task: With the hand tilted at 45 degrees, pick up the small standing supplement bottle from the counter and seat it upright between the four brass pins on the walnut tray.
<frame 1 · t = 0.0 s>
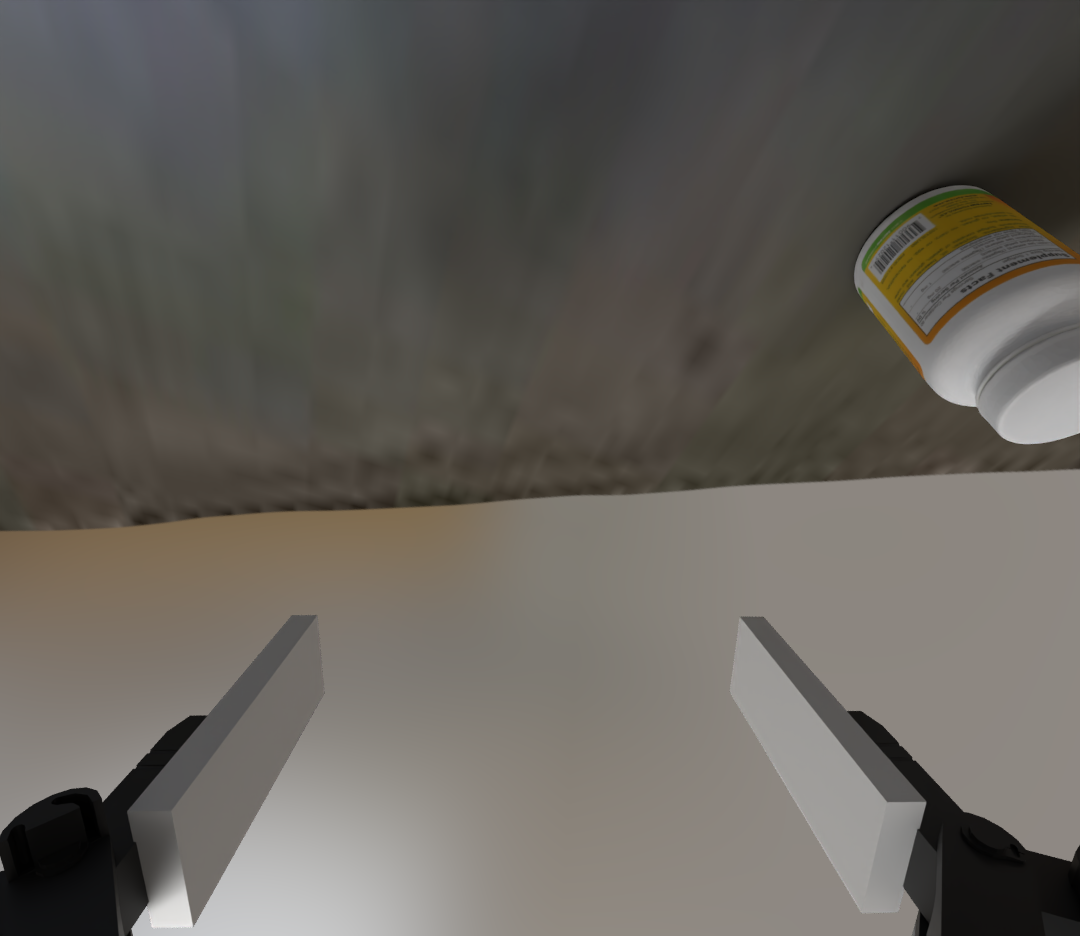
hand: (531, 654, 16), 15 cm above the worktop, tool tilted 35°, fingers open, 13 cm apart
supplement bottle: (916, 246, 22), on the worktop
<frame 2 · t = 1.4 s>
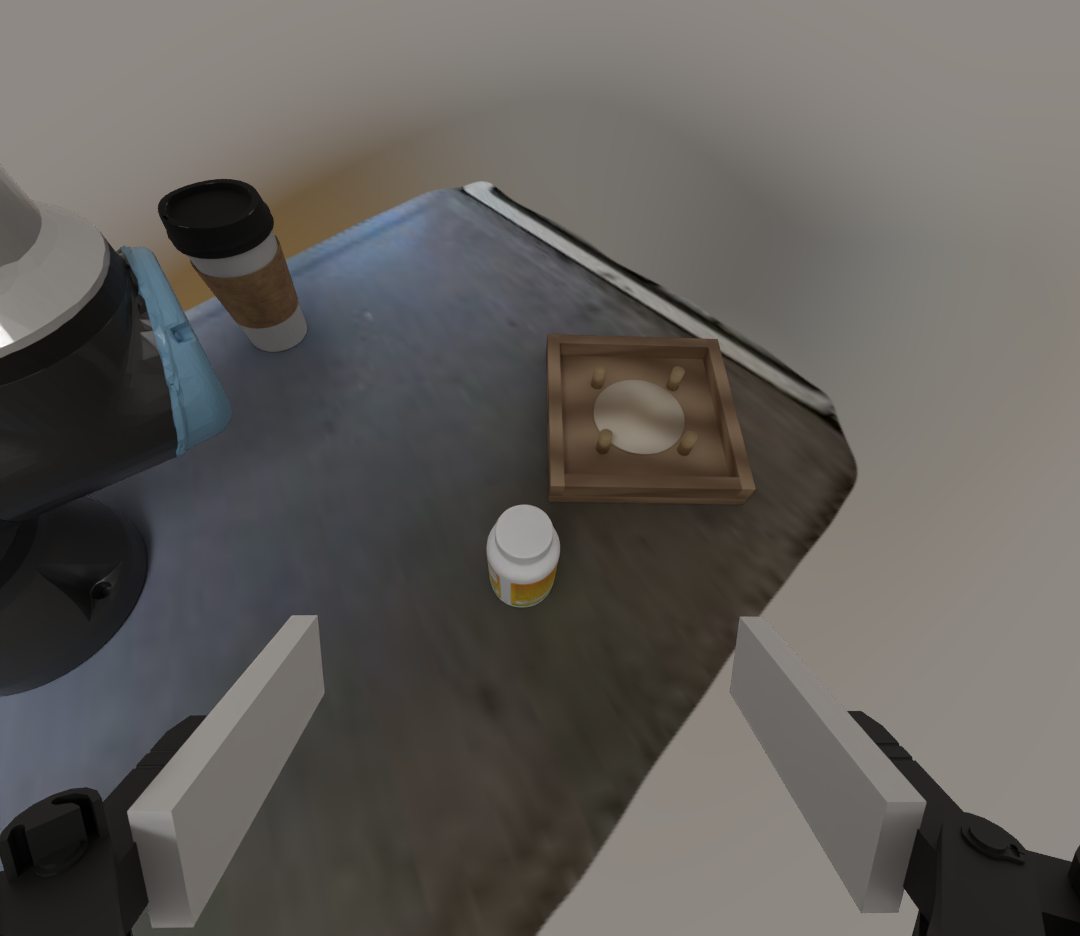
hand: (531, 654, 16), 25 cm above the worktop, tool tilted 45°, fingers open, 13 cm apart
supplement bottle: (522, 577, 43), on the worktop
pin tray: (636, 423, 51), on the worktop
coffee cup: (279, 333, 55), on the worktop
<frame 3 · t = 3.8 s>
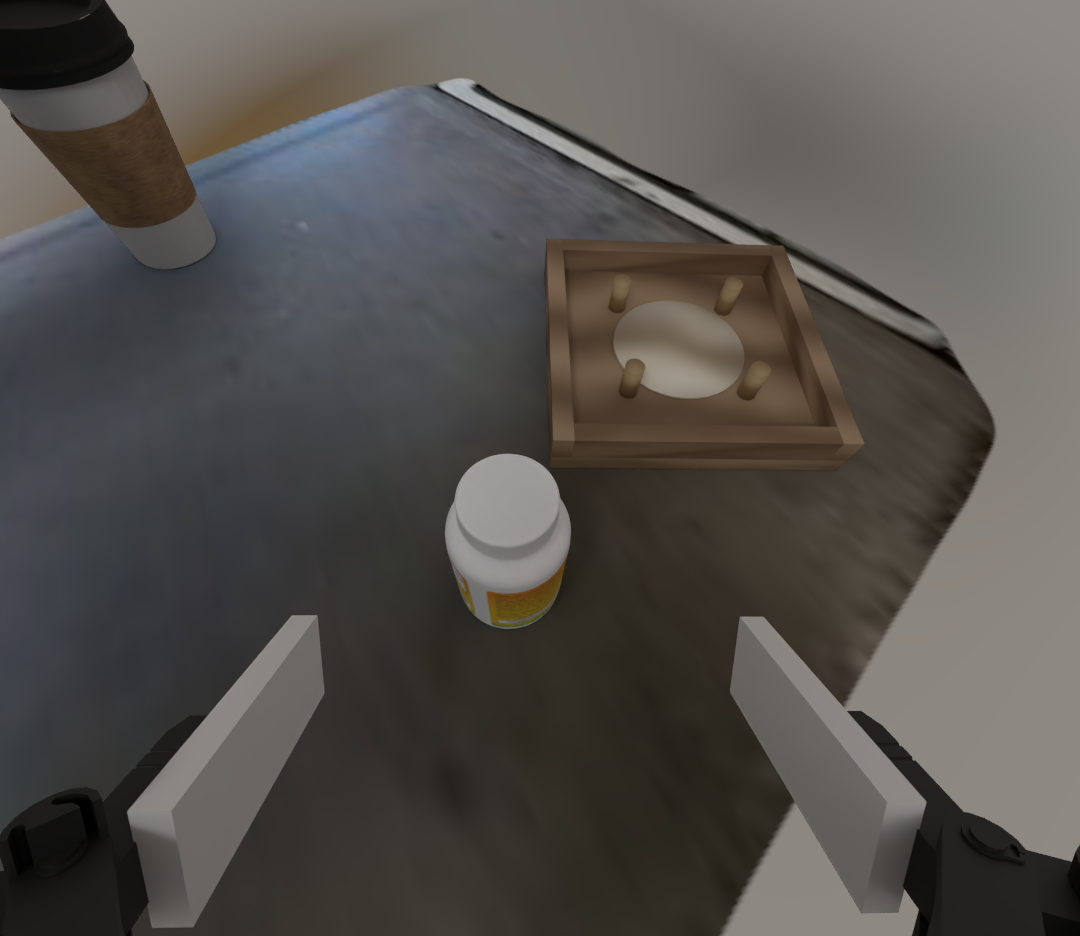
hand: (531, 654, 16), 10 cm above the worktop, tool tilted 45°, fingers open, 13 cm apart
supplement bottle: (510, 581, 27), on the worktop
pin tray: (673, 360, 36), on the worktop
coffee cup: (178, 247, 40), on the worktop
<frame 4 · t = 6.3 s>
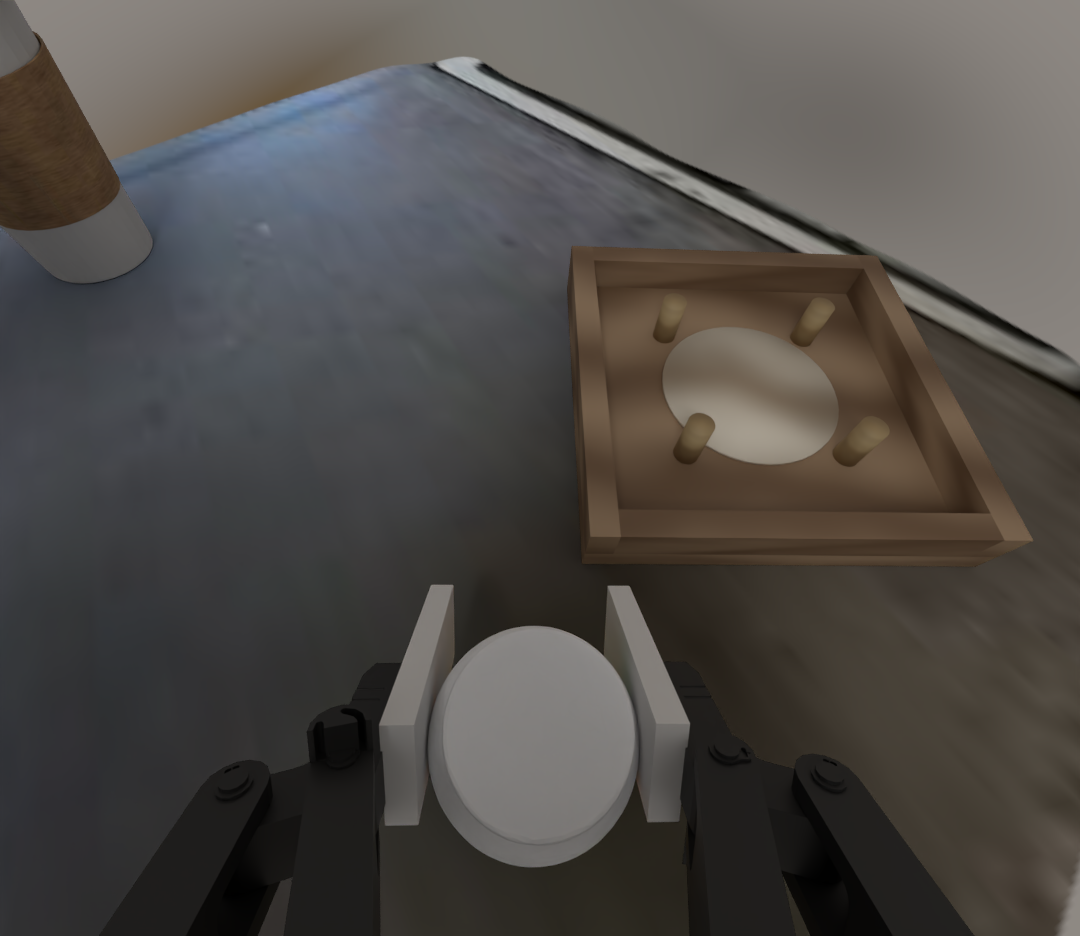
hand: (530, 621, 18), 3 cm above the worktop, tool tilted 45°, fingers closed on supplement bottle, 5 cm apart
supplement bottle: (527, 746, 19), on the worktop, touching gripper
pin tray: (739, 405, 27), on the worktop
coffee cup: (103, 255, 32), on the worktop
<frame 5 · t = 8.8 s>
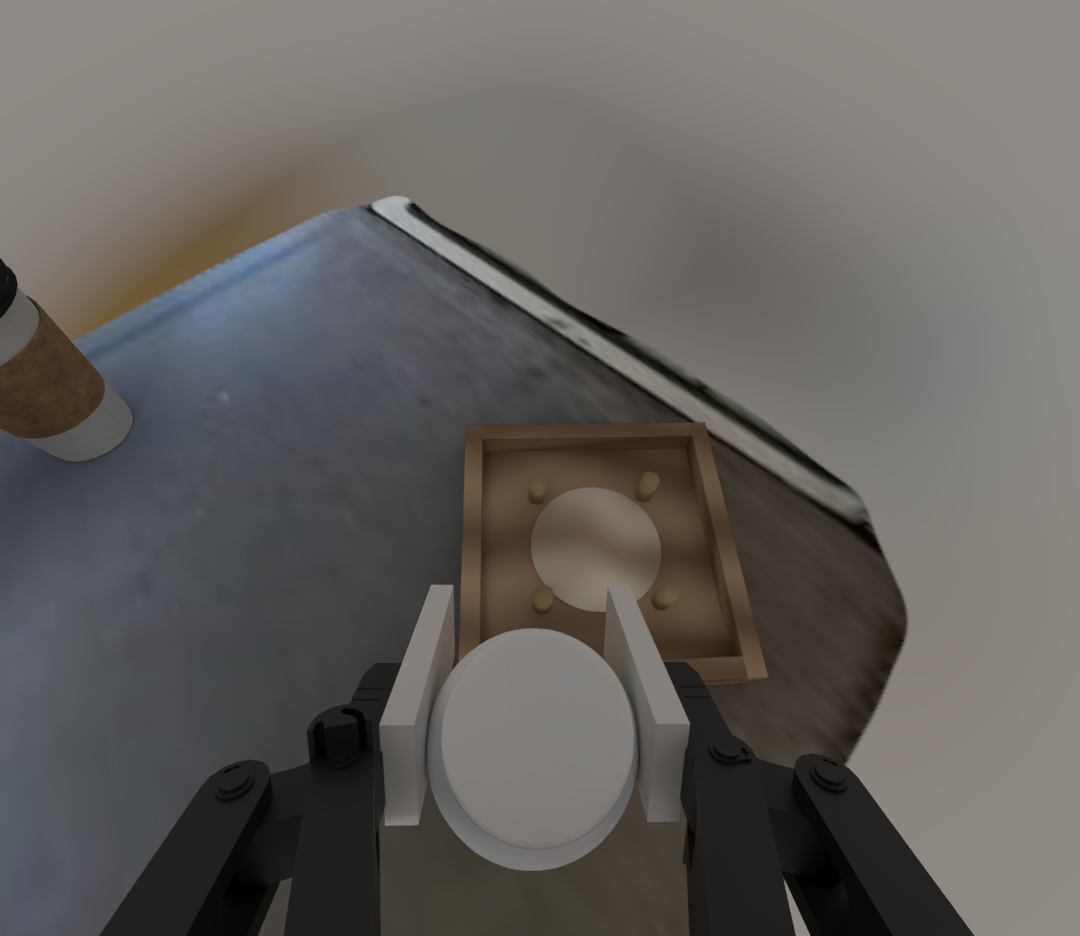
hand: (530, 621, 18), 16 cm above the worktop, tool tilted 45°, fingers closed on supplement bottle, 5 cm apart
supplement bottle: (527, 748, 19), point 13 cm above the worktop, touching gripper
pin tray: (593, 552, 36), on the worktop
coffee cup: (93, 430, 39), on the worktop
when the fingers open (6 cm above the worktop, at t = 11.4 s): supplement bottle stays where it is, resting on pin tray.
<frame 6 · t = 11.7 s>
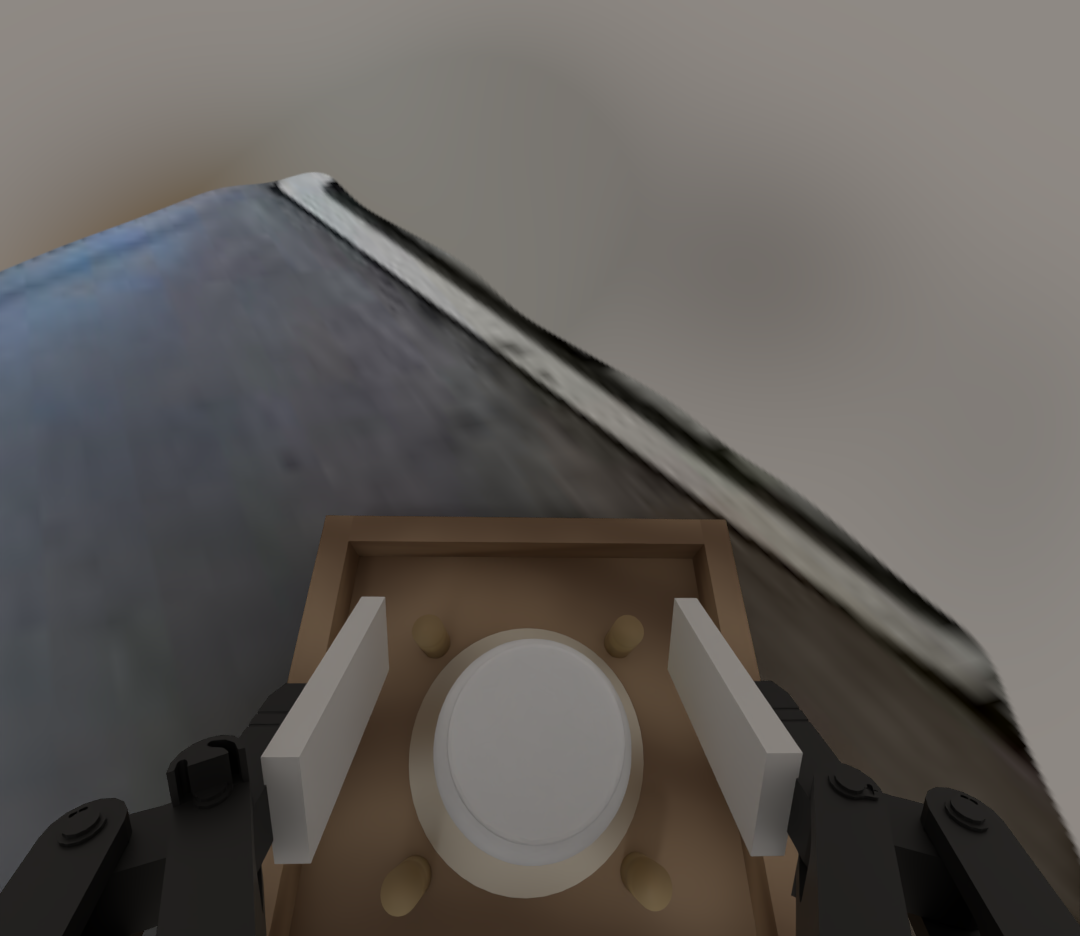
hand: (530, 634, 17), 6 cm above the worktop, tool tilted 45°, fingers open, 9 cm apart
supplement bottle: (528, 751, 20), point 1 cm above the worktop, touching pin tray
pin tray: (526, 748, 21), on the worktop
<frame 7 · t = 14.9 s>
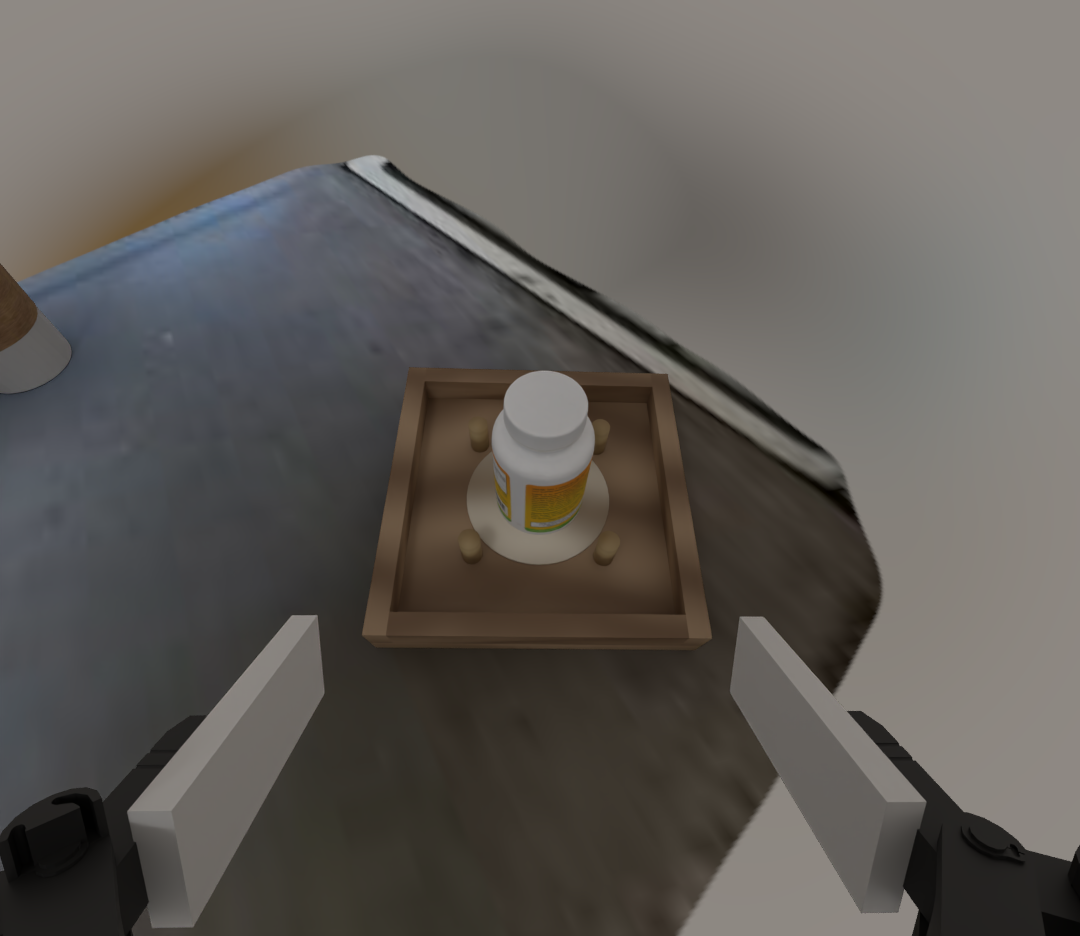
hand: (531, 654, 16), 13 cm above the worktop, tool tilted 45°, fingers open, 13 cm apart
supplement bottle: (538, 499, 32), point 1 cm above the worktop, touching pin tray
pin tray: (537, 505, 33), on the worktop
coffee cup: (29, 365, 38), on the worktop
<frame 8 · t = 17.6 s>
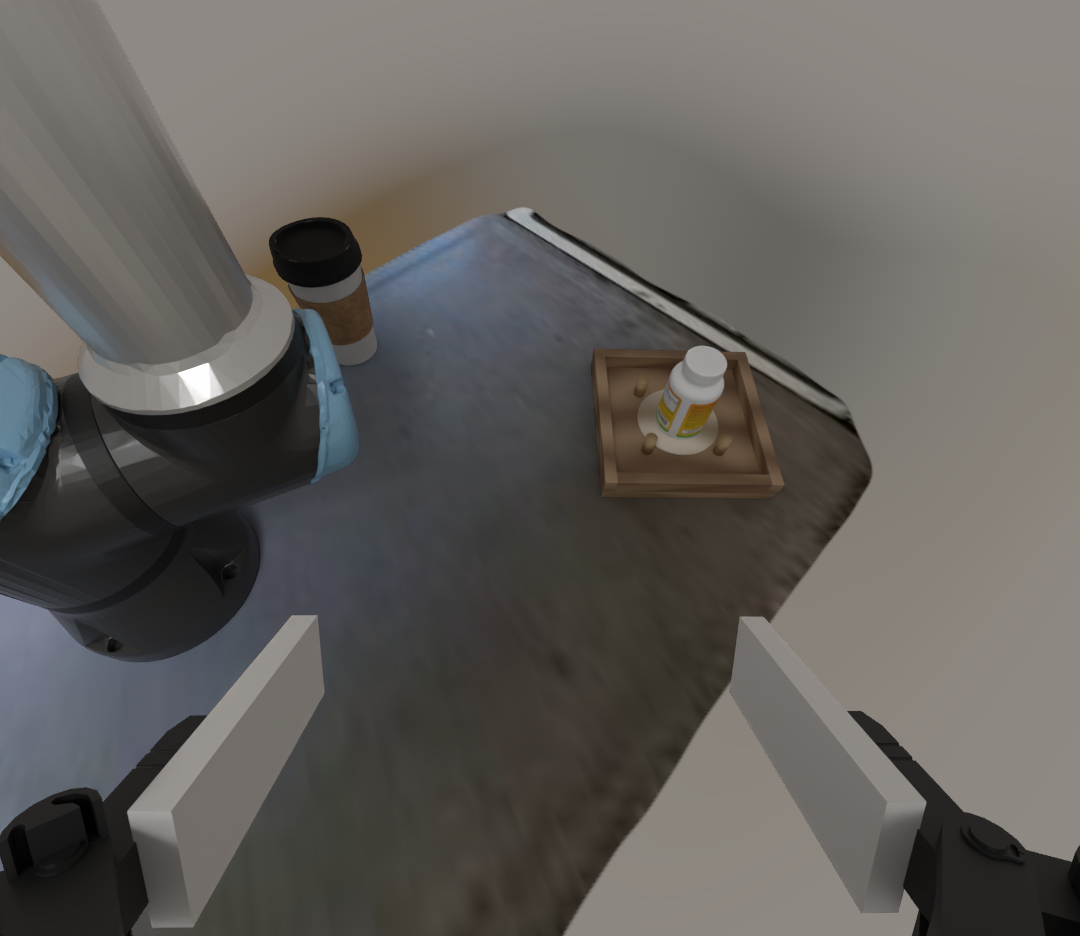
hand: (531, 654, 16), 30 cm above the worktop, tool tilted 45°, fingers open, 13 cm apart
supplement bottle: (677, 422, 56), point 1 cm above the worktop, touching pin tray
pin tray: (674, 427, 57), on the worktop
coffee cup: (353, 348, 62), on the worktop
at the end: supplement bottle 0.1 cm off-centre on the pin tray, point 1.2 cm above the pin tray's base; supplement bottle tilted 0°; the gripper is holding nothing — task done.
